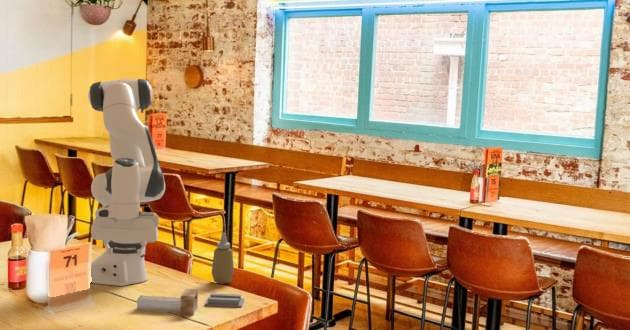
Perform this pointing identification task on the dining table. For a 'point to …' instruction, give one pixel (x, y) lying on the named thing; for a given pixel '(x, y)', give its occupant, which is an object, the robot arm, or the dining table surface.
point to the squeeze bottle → (223, 262)
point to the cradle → (224, 300)
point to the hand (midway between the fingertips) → (124, 254)
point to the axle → (160, 304)
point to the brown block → (188, 301)
